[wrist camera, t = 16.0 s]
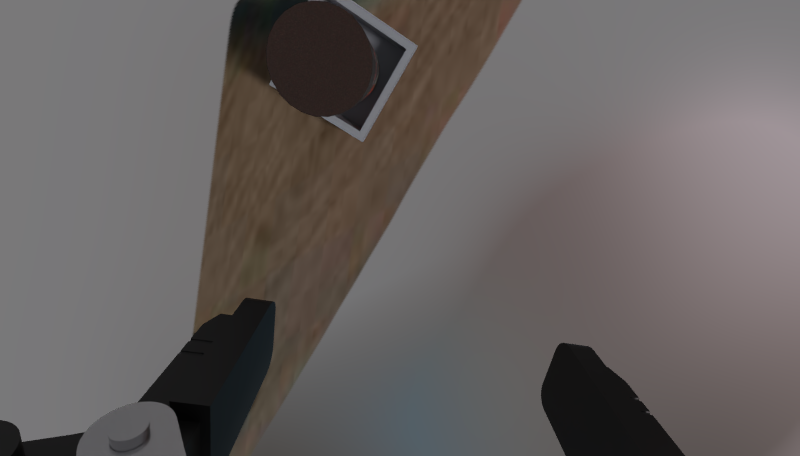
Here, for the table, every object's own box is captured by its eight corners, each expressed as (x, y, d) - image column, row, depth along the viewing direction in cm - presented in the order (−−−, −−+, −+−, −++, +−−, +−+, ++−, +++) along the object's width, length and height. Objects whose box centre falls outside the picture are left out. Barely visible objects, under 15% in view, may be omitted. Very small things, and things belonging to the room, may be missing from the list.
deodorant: (376, 30, 33) (366, -5, 19) (382, 99, 36) (378, 112, 22) (310, 36, 33) (254, 5, 19) (321, 104, 36) (278, 121, 22)
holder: (365, 137, 38) (362, 142, 34) (282, 85, 36) (269, 84, 32) (415, 51, 35) (417, 46, 31) (327, -10, 33) (319, -23, 30)
